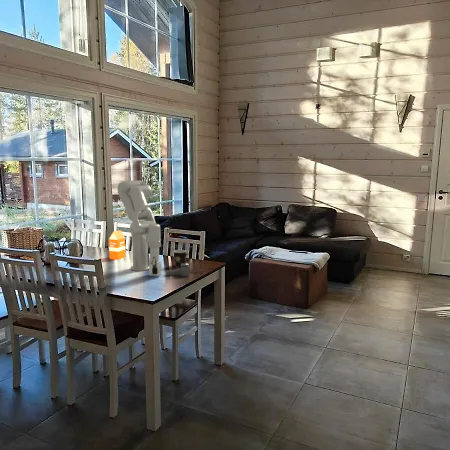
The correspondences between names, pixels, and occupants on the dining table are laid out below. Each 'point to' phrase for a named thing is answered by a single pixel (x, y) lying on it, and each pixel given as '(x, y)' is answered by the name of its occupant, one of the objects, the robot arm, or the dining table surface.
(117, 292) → the dining table surface
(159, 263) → the lock
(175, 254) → the coffee mug
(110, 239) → the orange juice
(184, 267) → the coupler
